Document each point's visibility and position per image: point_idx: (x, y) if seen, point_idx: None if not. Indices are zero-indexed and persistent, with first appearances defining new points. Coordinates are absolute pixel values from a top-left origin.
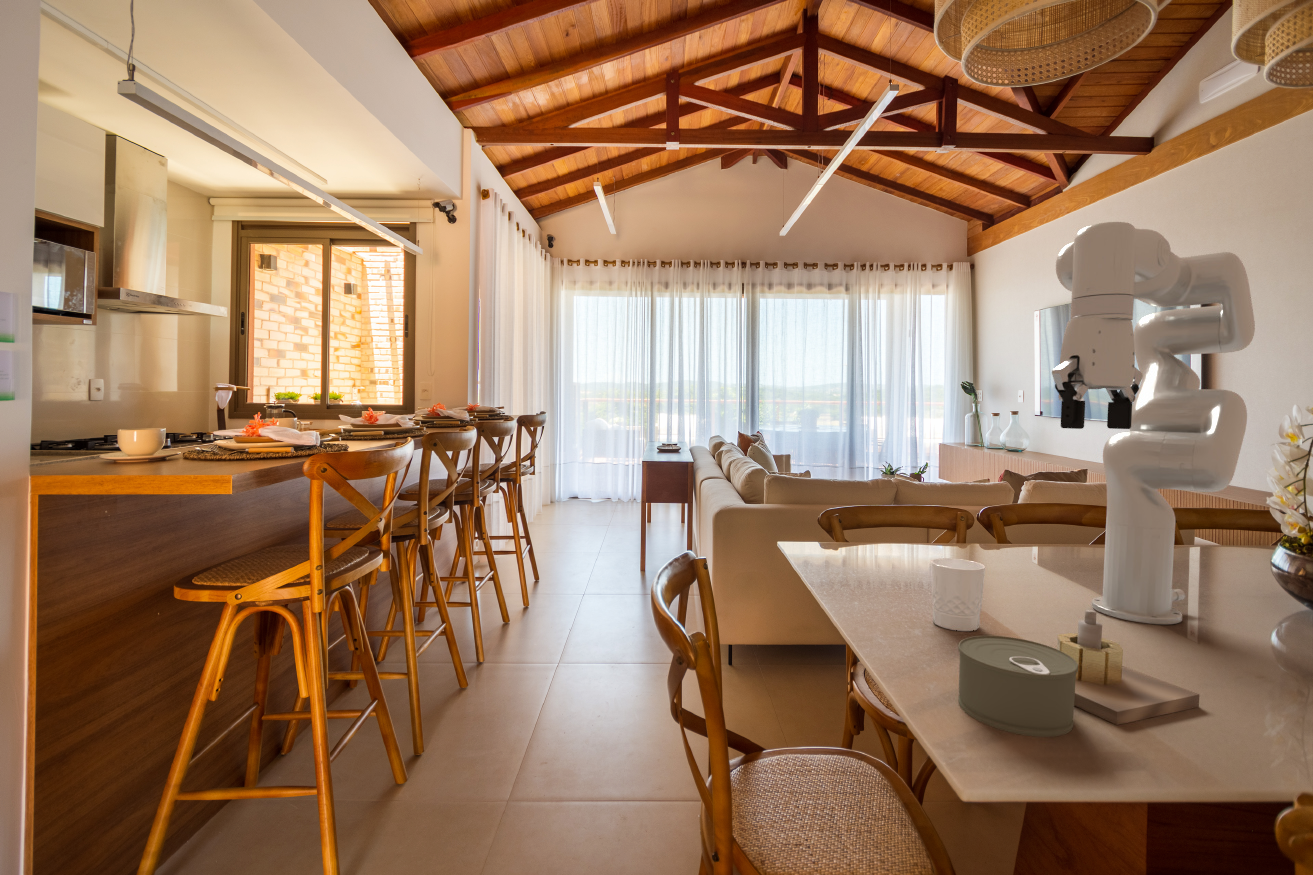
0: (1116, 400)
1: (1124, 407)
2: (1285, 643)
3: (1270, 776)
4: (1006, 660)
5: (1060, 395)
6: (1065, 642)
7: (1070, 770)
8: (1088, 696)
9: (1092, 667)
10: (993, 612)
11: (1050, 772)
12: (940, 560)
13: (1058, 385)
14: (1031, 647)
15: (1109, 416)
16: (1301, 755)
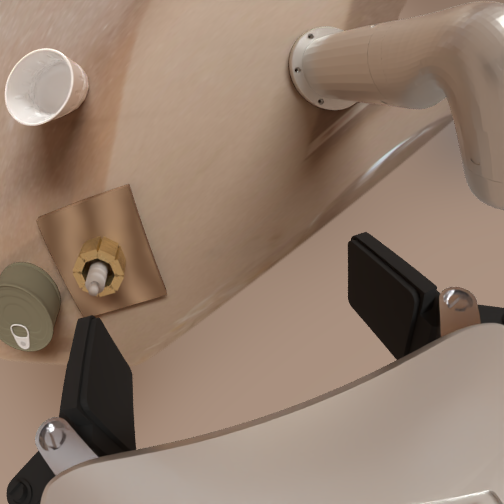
0: (421, 331)
1: (390, 343)
2: (378, 170)
3: (135, 357)
4: (10, 322)
5: (38, 453)
6: (75, 274)
7: None
8: (77, 298)
9: None
10: (146, 38)
11: None
12: (32, 55)
13: (19, 501)
14: (33, 304)
15: (373, 269)
16: (174, 340)
